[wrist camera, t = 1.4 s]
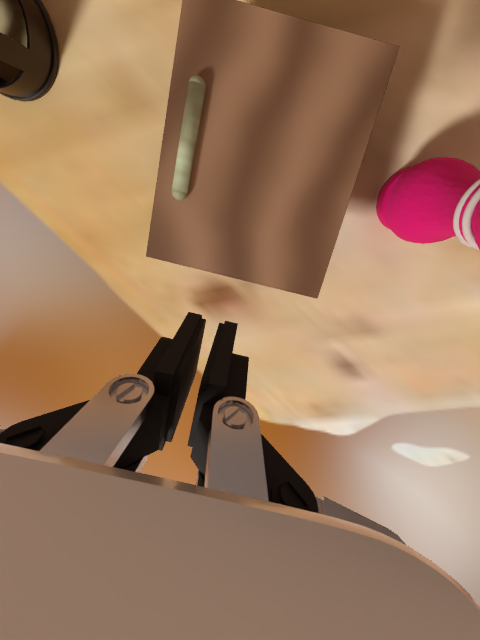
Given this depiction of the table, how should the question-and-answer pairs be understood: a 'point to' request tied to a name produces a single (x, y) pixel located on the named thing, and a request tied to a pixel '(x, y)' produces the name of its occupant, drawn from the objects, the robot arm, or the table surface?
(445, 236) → the pepper mill
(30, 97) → the french press
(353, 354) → the table surface
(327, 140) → the board
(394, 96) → the table surface
